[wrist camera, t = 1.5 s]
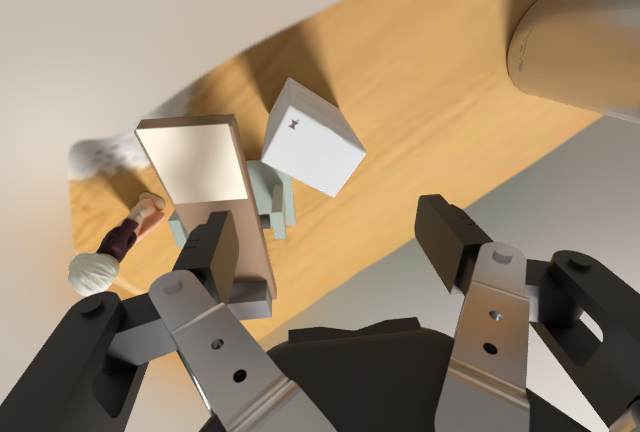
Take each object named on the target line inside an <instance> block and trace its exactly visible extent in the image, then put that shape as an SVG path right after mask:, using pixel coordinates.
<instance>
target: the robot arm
mask: <svg viewBox="0 0 640 432" xmlns="http://www.w3.org/2000/svg"><path fill="white" fill-rule="evenodd" d="M508 71H509V75H510V78H511V80H512V82H513V83H514V85H515V86H516V87H517V88H518V89H519V90H521V91H523V92H525V93H527V94H530V95H534V96H538V97H541V98H545V99H549V100H553V101H556V102H559V103H563V104H567V105H571V106H575V107H578V108H582V109H586V110H590V111H593V112H597V113H601V114H605V115H608V116H613V117H616V118H620V119H624V120H627V121H631V122H635V123H639V124H640V0H537V1H536V2H535V3H534V5H533V6H532V7H531V8H530V9H529V10H528V11H527V13H526V14H525V15H524V17H523V18H522V19H521V21H520V23H519V25H518V26H517V28H516V30H515V32H514V34H513V37H512V40H511V43H510V46H509V52H508ZM415 236H416V239H417V241H418V242H419V244H420V245H421V247H422V249H423V250H424V252H425V254H426V255H427V257H428V258H429V260H430V262H431V264H432V265H433V267H434V268H435V270H436V272H437V273H438V275H439V277H440V278H441V280H442V281H443V283H444V285H445V286H446V288H447V290H448V291H449V293H450V294H451V295H452V294H462V293H463V294H464V296H465V298H464V302H463V305H462V309H461V312H460V316H459V319H458V323H457V326H456V330H455V333H454V337H453V338H452V337H450V336H448V335H446V334H443V333H441V332H438V331H435V330H432V329H427V328H423V327H421V326H420V323H419V322H418V319H417V317H412V318H402V319H392V320H385V321H382V322H379V323H376V324H373V325H371V326H368V327H365V328H362V329H359V330H355V331H351V330H342V329H335V328H326V327H314V328H304V329H294V330H289V340H288V341H286V342H283V343H281V344H279V345H277V346H275V347H273V348H272V349H270V350H269V351H267V352H265V351H264V350H263V349H262V348H261V346H260V345H258V343H257V342H256V341H255V339H254V338H253V337H252V336H251V335H250V333H249V332H248V331H247V330H246V329H245V327H244V326H243V325H242V324H241V323H240V321H239V320H238V319H237V318H236V317H235V315H234V314H233V313H232V312H231V311H230V309H229V308H228V307H227V305H228V301H229V297H230V292H231V288H232V283H233V279H234V274H235V270H236V265H237V261H238V256H239V241H238V236H237V232H236V228H235V224H234V219H233V215H232V212H231V211H230V210H225V211H212V212H211V213H210V216H209V218H208V220H207V223H206V224H199V225H198V226H197V227H196V228H195V229H194V230H192V231H191V232H190V235H189V237H188V239H187V242H186V243H185V245H184V247H183V249H182V251H181V253H180V255H179V257H178V259H177V261H176V263H175V265H174V267H173V269H172V271H171V272H169V273H166V274H164V275H162V276H161V277H159V278H158V279H156V280H155V281H154V282H153V283H152V285H151V286H150V288H149V291H148V292H147V293H145V294H142V295H138V296H135V297H132V298H129V299H126V300H122V301H121V300H120V298H119V296H118V295H117V294H116V293H114V292H110V291H105V292H99V293H95V294H92V295H90V296H88V297H86V298H84V299H82V300H80V301H79V302H77V303H76V304H75V305H74V306H72V307H71V308H70V309H69V311H68V312H67V313H66V315H65V316H64V317H63V319H62V320H61V322H60V323H59V324H58V326H57V327H56V329H55V330H54V331H53V333H52V334H51V336H50V337H49V338H48V340H47V341H46V343H45V344H44V345H43V347H42V348H41V350H40V351H39V352H38V354H37V355H36V357H35V358H34V359H33V361H32V362H31V364H30V365H29V366H28V368H27V369H26V371H25V372H24V373H23V375H22V376H21V378H20V379H19V380H18V382H17V383H16V385H15V386H14V387H13V389H12V390H11V392H10V393H9V394H8V396H7V397H6V399H5V400H4V401H3V403H2V404H1V406H0V432H124V431H125V428H126V425H127V422H128V419H129V416H130V414H131V411H132V408H133V405H134V403H135V400H136V397H137V394H138V392H139V389H140V386H141V383H142V380H143V378H144V375H145V372H146V369H147V366H148V363H149V361H151V360H153V359H156V358H158V357H161V356H164V355H166V354H169V353H171V352H174V351H176V352H177V353H178V355H179V357H180V359H181V361H182V363H183V364H184V366H185V368H186V370H187V372H188V373H189V375H190V377H191V379H192V381H193V383H194V384H195V386H196V388H197V390H198V392H199V394H200V396H201V398H202V399H203V401H204V403H205V405H206V407H207V409H208V411H209V413H210V415H211V417H210V418H209V420H208V421H207V422H206V423H205V425H204V426H203V427H202V428H201V430H200V431H199V432H591V431H590V430H588V429H587V428H585V427H584V426H582V425H581V424H579V423H578V422H576V421H575V420H573V419H572V418H570V417H569V416H568V415H566V414H565V413H563V412H562V411H560V410H559V409H557V408H556V407H554V406H553V405H551V404H550V403H548V402H547V401H546V400H544V399H543V398H541V397H540V396H538V395H537V394H535V393H534V392H532V391H531V390H529V389H528V388H526V376H527V354H528V334H529V323H530V324H531V325H532V327H533V328H534V330H535V331H536V332H537V334H538V335H539V336H540V337H541V339H542V340H543V342H544V343H545V344H546V346H547V347H548V348H549V350H550V351H551V352H552V353H553V355H554V356H555V358H556V359H557V360H558V362H559V363H560V364H561V365H562V367H563V368H564V370H565V371H566V372H567V374H568V375H569V376H570V378H571V379H572V380H573V382H574V383H575V384H576V386H577V387H578V388H579V390H580V391H581V392H582V394H583V395H584V396H585V398H586V399H587V400H588V402H589V403H590V404H591V406H592V407H593V408H594V410H595V411H596V412H597V414H598V415H599V416H600V418H601V419H602V420H603V422H604V423H605V424H606V426H607V427H608V428H609V432H640V294H639V293H638V292H636V291H635V290H634V289H633V288H631V287H630V286H629V285H628V284H626V283H625V282H624V281H623V280H621V279H620V278H619V277H618V276H616V275H615V274H614V273H613V272H611V271H610V270H609V269H608V268H606V267H605V266H604V265H603V264H601V263H600V262H599V261H597V260H596V259H594V258H592V257H590V256H588V255H586V254H582V253H579V252H575V251H569V250H562V251H557V252H555V253H554V254H553V257H552V259H551V261H550V262H547V261H539V260H530V259H526V257H525V256H524V254H523V253H522V252H521V251H520V250H518V249H516V248H515V247H512V246H510V245H507V244H504V243H498V242H494V241H493V240H491V238H490V237H489V236H488V235H487V234H486V233H485V232H484V231H483V230H482V229H481V228H480V227H479V226H478V225H476V223H475V222H474V221H473V220H472V219H470V217H469V216H468V215H467V214H466V213H465V212H464V211H463V210H462V209H460V208H458V207H456V206H454V205H453V204H448V202H447V201H446V200H445V199H444V198H443V197H442V196H441V195H440V194H433V195H422V196H420V198H419V201H418V207H417V214H416V220H415ZM583 311H585V312H586V313H587V314H588V315H589V316H590V317H591V318H592V319H593V320H594V321H595V322H596V323H597V324H598V325H599V327H600V328H601V330H602V333H603V342H601V341H600V340H599V339H598V338H597V337H596V336H595V335H594V334H593V333H592V332H591V330H590V329H589V328H588V327H587V326H586V325H585V324H584V323H583V322H582V321H581V320H580V319H579V318H580V316H581V315H582V313H583Z"/></svg>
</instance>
